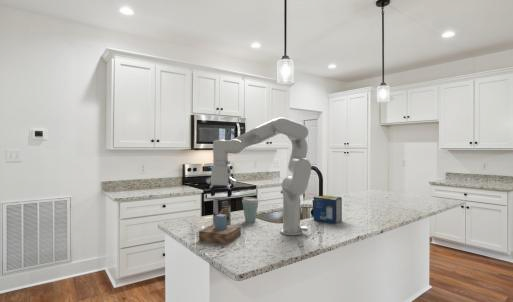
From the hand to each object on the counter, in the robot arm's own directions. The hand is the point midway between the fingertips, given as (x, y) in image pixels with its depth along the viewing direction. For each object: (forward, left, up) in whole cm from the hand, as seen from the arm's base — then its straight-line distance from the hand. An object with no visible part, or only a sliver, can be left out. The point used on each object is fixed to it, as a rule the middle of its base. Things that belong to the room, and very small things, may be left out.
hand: (221, 196), depth 153 cm
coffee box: (+12, -24, -22) cm, 35 cm away
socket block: (0, 0, -22) cm, 22 cm away
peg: (0, 0, -22) cm, 22 cm away
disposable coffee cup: (-1, -38, -22) cm, 44 cm away
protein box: (-47, -59, -22) cm, 78 cm away
